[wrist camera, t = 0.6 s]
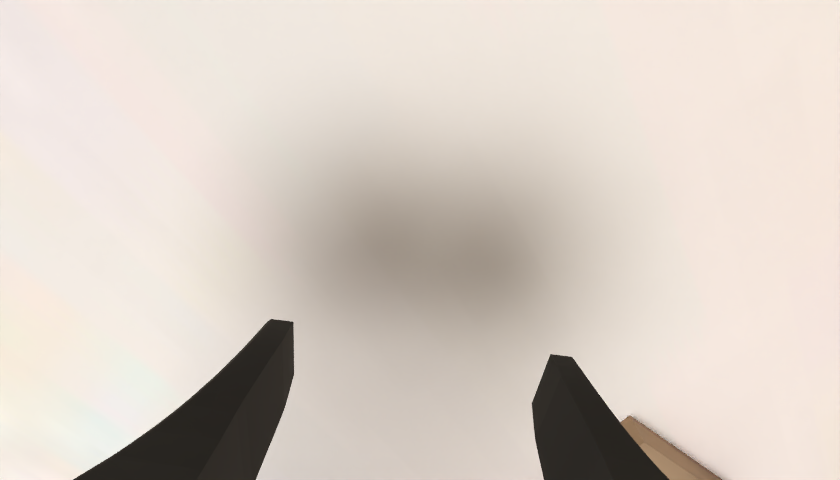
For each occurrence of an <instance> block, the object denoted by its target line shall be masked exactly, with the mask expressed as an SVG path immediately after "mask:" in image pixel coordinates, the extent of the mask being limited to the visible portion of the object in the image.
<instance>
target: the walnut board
mask: <svg viewBox="0 0 840 480" xmlns="http://www.w3.org/2000/svg"><path fill="white" fill-rule="evenodd" d="M621 424H622V426H623V427H624V428H625V429H626V431H627V432H628V433H629V434H630V436H631V437H632V438H633V439H634V440H635V442H636V443H637V444H638V445H639V446H640V447H641V449H642V450H643V451H644V452H645V453H646V455H647V456H648V457H649V458H650V459H651V460H652V461H653V462H654V464H655V465H656V466H657V467H658V468H659V469H660V470H661V471H662V472H663V473H664V474H665V475H666V476H667V477H668V478H669V479H670V480H722V479H721V478H719V477H718V476H716V475H715V474H713V473H712V472H710V471H709V470H708V469H706V468H705V467H703V466H702V465H700V464H699V463H698V462H696V461H695V460H693V459H692V458H690V457H689V456H687V455H686V454H685V453H683V452H682V451H680V450H679V449H677V448H676V447H674V446H673V445H672V444H670V443H669V442H667V441H666V440H664V439H663V438H661V437H660V436H659V435H657V434H656V433H654V432H653V431H651V430H650V429H649V428H647V427H646V426H644V425H643V424H641V423H640V422H638V421H637V420H636V419H634V418H633V417H631V416H628V417H627V418H626V419H624V420H623V421H622V422H621Z"/></svg>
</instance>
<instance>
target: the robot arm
mask: <svg viewBox="0 0 840 480" xmlns="http://www.w3.org/2000/svg"><path fill="white" fill-rule="evenodd" d="M293 376H294V336H293V322H290V321H282V320H274V319H271V320H269V321H268V322H267V323H266V324H265V325H264V326H263V327H262V328H261V329H260V331H259V332H258V333H257V334H256V335H255V336H254V337H253V338H252V339H251V340H250V342H249V343H248V344H247V345H246V346H245V347H244V348H243V349H242V350H241V351H240V352H239V353H238V354H237V355H236V356H235V357H234V358H233V359H232V360H231V361H230V362H229V363H228V364H227V365H226V366H225V367H224V368H223V369H222V370H221V371H220V372H219V373H218V374H217V375H216V376H215V377H214V378H212V379H211V380H210V381H209V382H208V383H207V384H206V385H205V386H204V387H202V388H201V389H200V390H199V391H198V392H197V393H196V394H195V395H193V396H192V397H191V398H190V399H189V400H188V401H186V402H185V403H184V404H183V405H182V406H180V407H179V408H178V409H177V410H175V411H174V412H173V413H172V414H170V415H169V416H168V417H166V418H165V419H164V420H163V421H161V422H160V423H159V424H157V425H156V426H155V427H153V428H152V429H150V430H149V431H148V432H146V433H145V434H143V435H142V436H141V437H139V438H138V439H136V440H135V441H134V442H132V443H131V444H129V445H128V446H126V447H125V448H123V449H122V450H120V451H119V452H117V453H116V454H114V455H113V456H111V457H110V458H108V459H106V460H105V461H103V462H101V463H100V464H98V465H96V466H95V467H93V468H92V469H90V470H88V471H87V472H85V473H83V474H82V475H80V476H78V477H77V478H75V479H74V480H256V477H257V475H258V472H259V470H260V468H261V465H262V463H263V460H264V458H265V455H266V453H267V450H268V448H269V446H270V443H271V441H272V438H273V436H274V433H275V431H276V428H277V426H278V423H279V421H280V418H281V416H282V413H283V411H284V408H285V405H286V401H287V398H288V394H289V390H290V387H291V383H292V379H293ZM532 410H533V421H534V431H535V440H536V445H537V449H538V454H539V459H540V463H541V468H542V472H543V477H544V480H670V479H669V478H668V477H667V476H666V475H665V474H664V473H663V472H662V471H661V470H660V469H659V468H658V467H657V466H656V465H655V464H654V462H653V461H652V460H651V459H650V458H649V457H648V456H647V455H646V453H645V452H644V451H643V450H642V449H641V447H640V446H639V445H638V444H637V443H636V442H635V440H634V439H633V438H632V437H631V436H630V434H629V433H628V432H627V431H626V429H625V428H624V427H623V426H622V424H621V423H620V422H619V421H618V419H617V418H616V417H615V415H614V414H613V413H612V411H611V410H610V409H609V407H608V406H607V405H606V403H605V402H604V401H603V399H602V398H601V397H600V395H599V394H598V392H597V391H596V390H595V388H594V387H593V386H592V384H591V383H590V381H589V380H588V379H587V377H586V376H585V374H584V373H583V372H582V370H581V369H580V367H579V366H578V365H577V363H576V362H575V360H574V359H573V358H572V357H568V356H560V355H552V354H551V355H550V357H549V360H548V362H547V365H546V368H545V370H544V373H543V376H542V378H541V381H540V384H539V386H538V389H537V391H536V394H535V397H534V399H533V402H532Z"/></svg>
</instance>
